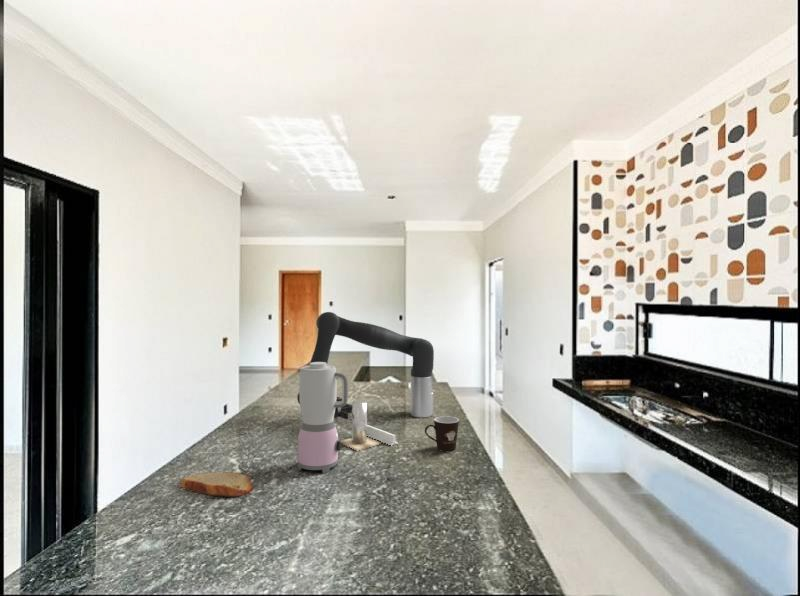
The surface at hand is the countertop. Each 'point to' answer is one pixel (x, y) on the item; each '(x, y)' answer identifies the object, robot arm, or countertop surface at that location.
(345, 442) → the oak board
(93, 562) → the countertop surface
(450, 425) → the coffee mug
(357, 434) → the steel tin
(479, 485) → the countertop surface
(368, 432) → the acrylic fence
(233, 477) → the bread slice
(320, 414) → the blender
